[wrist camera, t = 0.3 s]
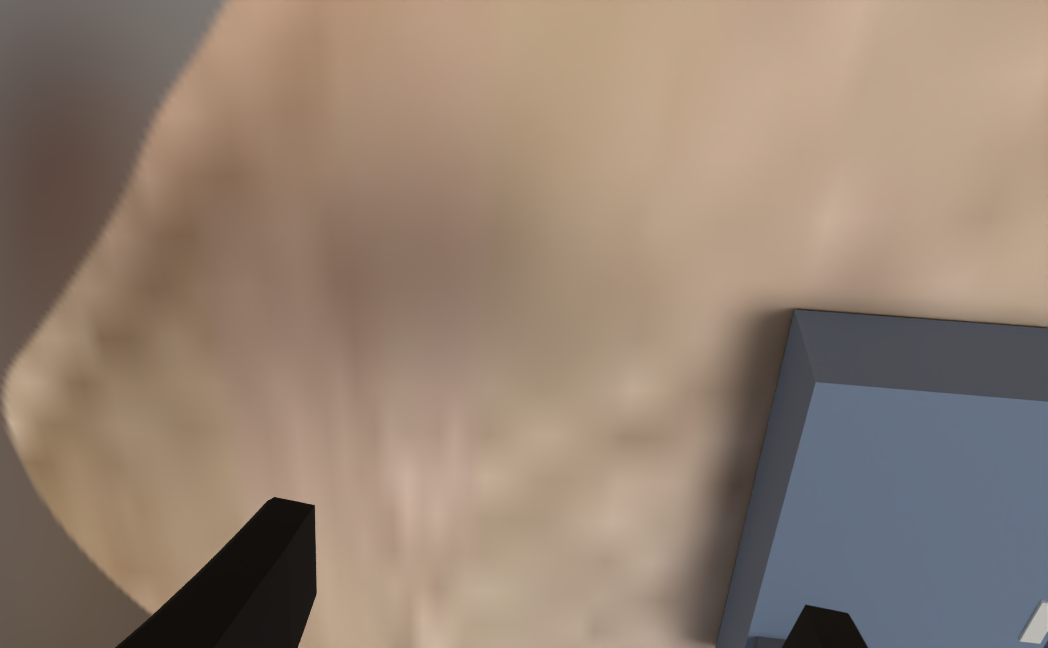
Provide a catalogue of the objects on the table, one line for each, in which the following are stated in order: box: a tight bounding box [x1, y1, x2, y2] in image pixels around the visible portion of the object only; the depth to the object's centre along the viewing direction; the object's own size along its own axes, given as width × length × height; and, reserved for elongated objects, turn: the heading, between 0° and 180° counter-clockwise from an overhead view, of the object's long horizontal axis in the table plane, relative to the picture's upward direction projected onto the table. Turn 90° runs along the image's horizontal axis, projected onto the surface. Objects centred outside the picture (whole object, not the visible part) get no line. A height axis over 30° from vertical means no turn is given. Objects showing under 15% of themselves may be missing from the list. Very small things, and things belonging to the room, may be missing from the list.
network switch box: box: [716, 310, 1048, 648], centre depth 21 cm, size 14×8×4 cm, turn 0°
